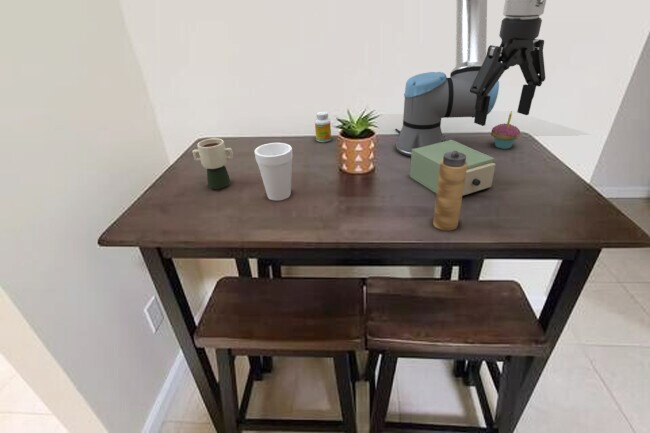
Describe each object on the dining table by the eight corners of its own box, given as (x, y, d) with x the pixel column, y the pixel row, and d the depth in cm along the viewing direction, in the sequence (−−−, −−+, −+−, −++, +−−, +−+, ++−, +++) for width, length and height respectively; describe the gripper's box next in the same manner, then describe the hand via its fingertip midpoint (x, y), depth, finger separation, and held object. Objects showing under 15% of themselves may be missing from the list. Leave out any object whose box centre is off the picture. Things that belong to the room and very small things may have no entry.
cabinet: (488, 187, 101) (494, 158, 96) (447, 200, 96) (451, 170, 92) (448, 166, 113) (451, 139, 109) (409, 176, 108) (411, 149, 104)
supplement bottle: (316, 143, 134) (314, 115, 129) (316, 137, 139) (314, 111, 134) (331, 142, 134) (330, 115, 129) (331, 136, 139) (329, 110, 134)
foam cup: (268, 206, 98) (261, 159, 91) (256, 192, 105) (249, 147, 98) (302, 197, 101) (297, 151, 94) (288, 183, 108) (283, 140, 101)
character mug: (240, 179, 112) (233, 136, 106) (236, 190, 106) (228, 146, 99) (204, 181, 112) (194, 139, 106) (197, 192, 106) (186, 148, 100)
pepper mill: (428, 221, 88) (436, 149, 79) (446, 215, 90) (456, 144, 81) (443, 233, 84) (454, 158, 74) (462, 226, 86) (475, 152, 76)
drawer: (494, 188, 98) (499, 165, 95) (456, 200, 94) (460, 177, 90) (452, 166, 110) (455, 145, 107) (416, 176, 106) (418, 155, 103)
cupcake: (519, 151, 120) (528, 113, 113) (490, 150, 121) (498, 113, 115) (513, 141, 127) (521, 105, 120) (486, 140, 128) (493, 105, 122)
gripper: (490, 24, 71) (472, 133, 82) (580, 12, 79) (553, 113, 91) (461, 21, 77) (448, 124, 88) (549, 10, 85) (526, 105, 96)
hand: (501, 118), depth 89 cm, fingers open, 13 cm apart
